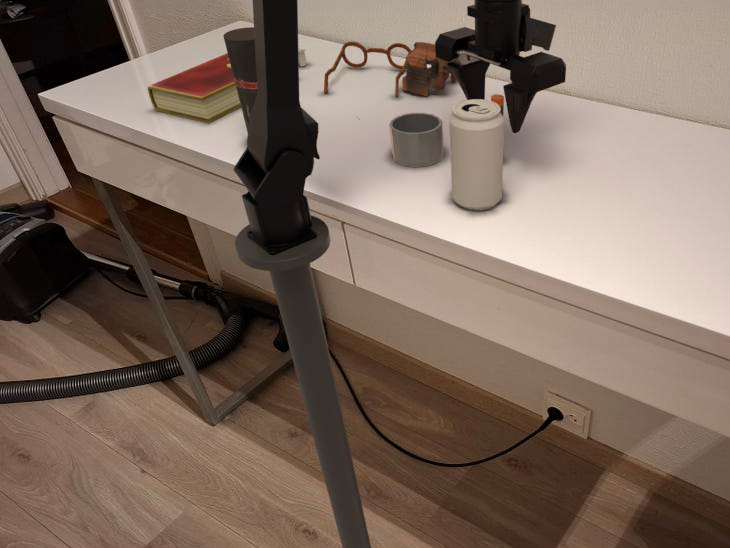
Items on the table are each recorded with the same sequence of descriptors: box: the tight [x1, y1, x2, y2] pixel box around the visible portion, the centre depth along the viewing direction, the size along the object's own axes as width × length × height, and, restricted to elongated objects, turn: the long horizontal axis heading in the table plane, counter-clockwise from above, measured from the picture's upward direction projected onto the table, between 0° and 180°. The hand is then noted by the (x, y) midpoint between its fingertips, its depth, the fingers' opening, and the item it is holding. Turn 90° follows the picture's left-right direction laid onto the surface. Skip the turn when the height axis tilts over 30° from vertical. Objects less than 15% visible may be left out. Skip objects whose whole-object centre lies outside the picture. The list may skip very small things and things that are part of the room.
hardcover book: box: [147, 53, 241, 124], centre depth 113 cm, size 12×21×4 cm, turn 152°
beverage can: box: [448, 99, 505, 211], centre depth 82 cm, size 6×6×12 cm
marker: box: [490, 93, 505, 117], centre depth 91 cm, size 2×2×9 cm
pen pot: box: [388, 112, 445, 168], centre depth 94 cm, size 7×7×5 cm
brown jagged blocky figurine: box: [401, 41, 457, 97], centre depth 114 cm, size 12×10×8 cm
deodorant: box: [222, 26, 257, 133], centre depth 95 cm, size 6×6×15 cm
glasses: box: [323, 41, 412, 98], centre depth 116 cm, size 13×13×5 cm
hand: (497, 124), depth 91 cm, fingers open, 7 cm apart
